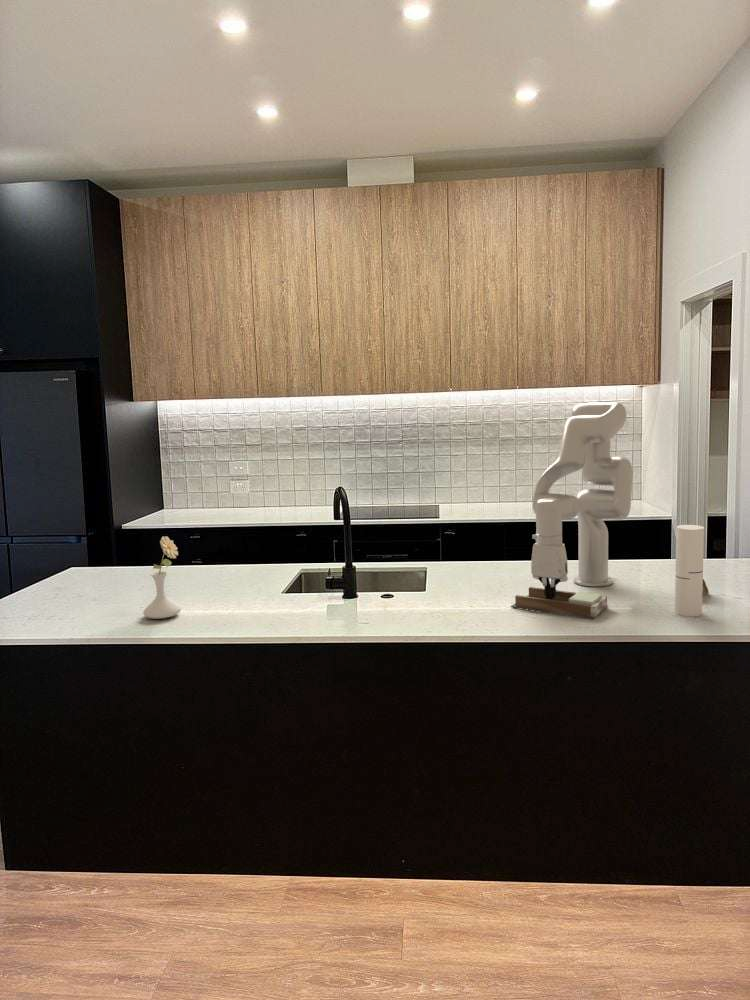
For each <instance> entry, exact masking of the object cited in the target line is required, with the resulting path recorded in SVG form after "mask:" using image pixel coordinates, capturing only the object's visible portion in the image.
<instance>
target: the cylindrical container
mask: <svg viewBox="0 0 750 1000" xmlns="http://www.w3.org/2000/svg"><path fill="white" fill-rule="evenodd" d="M675 533H676V535H675V537H676V538H675V579H674V580H675V582H674V583H675V587H674V590H675V591H674V599H675V600H674V613H675V614H677V615H679V616H683V617H698V616H701V615H703V595H702V591H703V579H704V578H703V577H704V551H705V550H704V549H705V547H704V546H705V541H704V540H705V527H704V526H702V525H696V524H679V525H676V530H675Z"/></svg>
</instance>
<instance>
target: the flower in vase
mask: <svg viewBox="0 0 750 1000" xmlns="http://www.w3.org/2000/svg"><path fill="white" fill-rule="evenodd" d="M159 544H160V548H161V549H162V552H163V555H162V558H161V562H160V565H158V564H155V563H154V564H153V567H152V569H157V570H158V569H159V570H158V571H154V572H151V574H149V575H150V576H151V577H152V579H153V580H154V582H155V588H156V597H154V599H153V600H152V602H151V603H149V604H148V605H147V606H146V607H145V608H144V610H143V615H144V616H145V618H147V619H157V620H159V619H160V620H161V619H167V618H171V617H174V616H176V615H178V614H180V612H181V611H182V607H181V606H180V605H179V604H178V603H177V602H176V601H174V600H172V599H170V598H169V597H167V595H166V593H165V578H166V576H167V574H168V572H167V571H161V570H162V568H163V565H164V566H165V567H166V568H168V567H170V566H171V565H172V561H171V560H169V559H167V558H170V559H177V556H179V551H178V547H177V546H176V543H175V544H174V540H173V539H172V540H171V539H170V538H169V536H167V535H166V536H163V535H162V537H161V538H160V540H159ZM165 556H167V558H165V559H164V557H165Z"/></svg>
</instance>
